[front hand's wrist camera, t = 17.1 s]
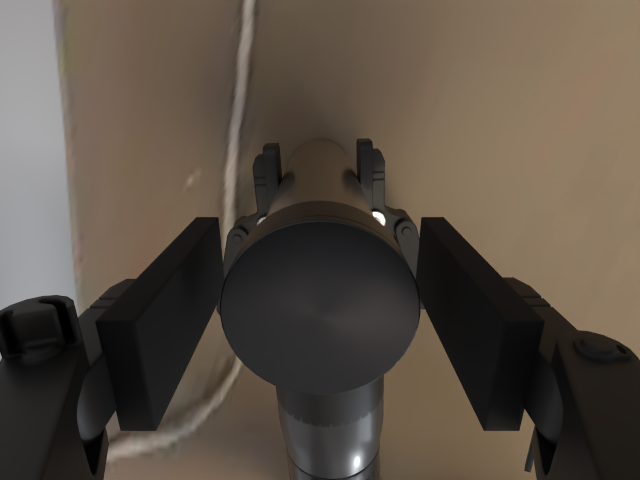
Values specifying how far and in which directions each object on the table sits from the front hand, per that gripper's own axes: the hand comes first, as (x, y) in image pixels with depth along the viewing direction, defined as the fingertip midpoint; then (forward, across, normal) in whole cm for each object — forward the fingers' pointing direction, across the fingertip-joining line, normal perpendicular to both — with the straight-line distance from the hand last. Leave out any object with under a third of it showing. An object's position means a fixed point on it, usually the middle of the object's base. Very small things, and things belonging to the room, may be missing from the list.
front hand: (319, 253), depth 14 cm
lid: (-4, 0, 0) cm, 4 cm away
